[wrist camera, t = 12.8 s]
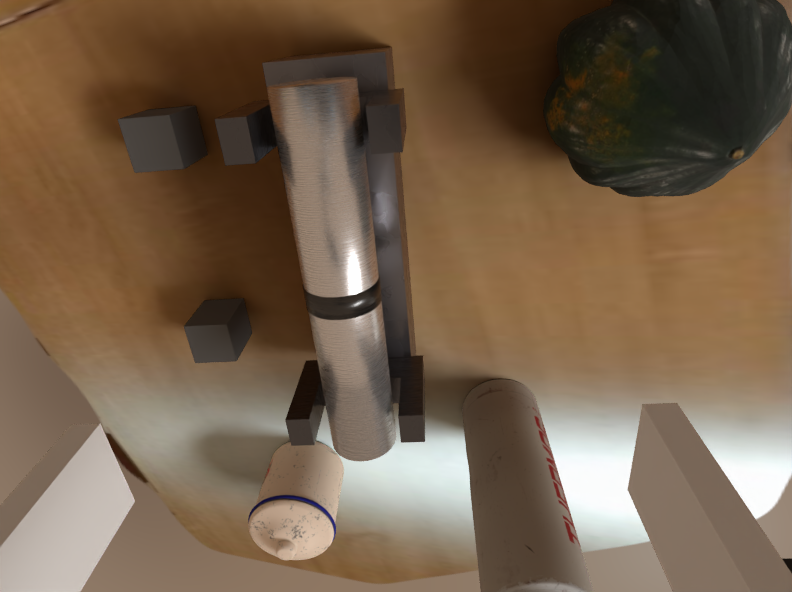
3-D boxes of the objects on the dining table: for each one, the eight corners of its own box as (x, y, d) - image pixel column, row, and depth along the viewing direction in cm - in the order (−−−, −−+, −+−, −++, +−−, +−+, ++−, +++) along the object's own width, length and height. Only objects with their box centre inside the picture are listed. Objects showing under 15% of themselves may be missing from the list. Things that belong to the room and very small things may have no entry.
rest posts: (149, 109, 43) (117, 119, 38) (195, 105, 43) (169, 114, 38) (214, 334, 53) (195, 363, 49) (252, 332, 53) (236, 361, 48)
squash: (593, -102, 31) (611, 100, 26) (834, -71, 31) (900, 133, 26) (521, 75, 44) (523, 232, 39) (691, 95, 45) (716, 252, 39)
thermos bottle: (534, 374, 53) (630, 675, 29) (539, 432, 57) (628, 744, 32) (457, 383, 54) (486, 683, 30) (467, 440, 58) (500, 749, 33)
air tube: (275, 82, 31) (256, 91, 26) (360, 74, 31) (355, 82, 26) (335, 418, 43) (328, 464, 38) (396, 413, 43) (397, 459, 38)
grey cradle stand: (277, 57, 41) (203, 74, 27) (404, 45, 40) (395, 56, 26) (328, 354, 53) (296, 467, 40) (425, 349, 53) (426, 464, 39)
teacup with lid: (257, 444, 60) (223, 531, 49) (331, 429, 58) (311, 516, 48) (295, 513, 65) (271, 606, 55) (363, 502, 64) (352, 595, 53)
